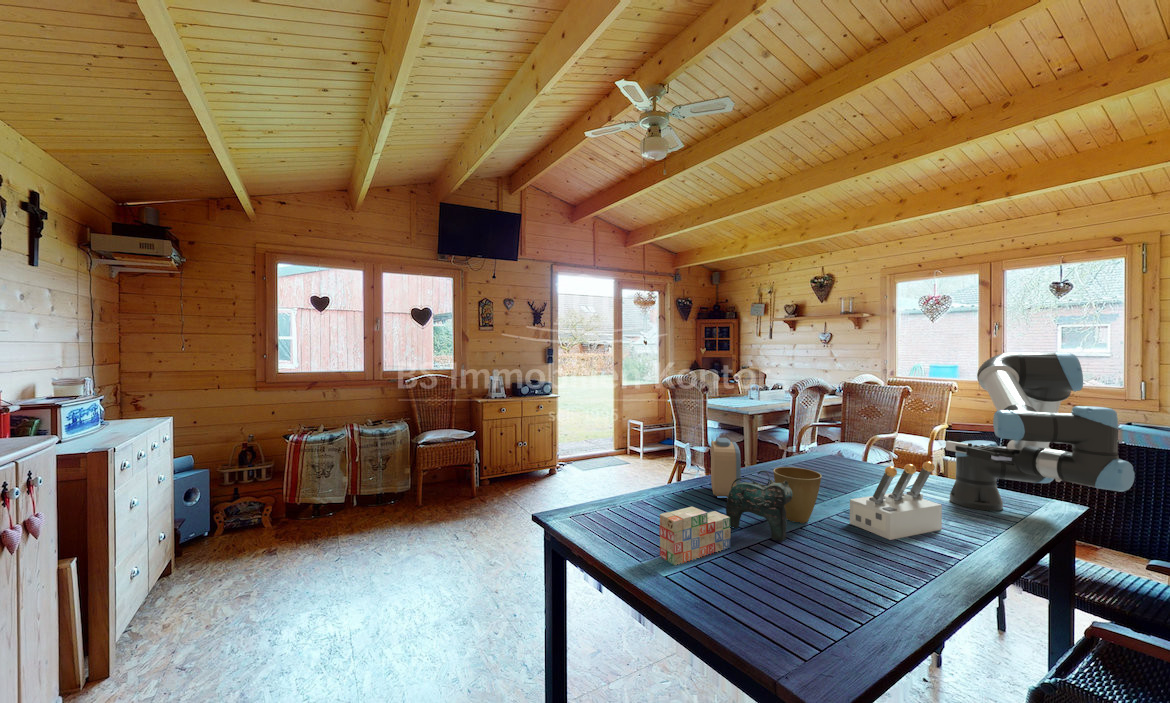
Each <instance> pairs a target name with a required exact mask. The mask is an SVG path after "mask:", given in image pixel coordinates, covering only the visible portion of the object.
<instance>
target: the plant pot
mask: <svg viewBox="0 0 1170 703" xmlns="http://www.w3.org/2000/svg"><path fill="white" fill-rule="evenodd" d="M772 473H773V478H774V480H773V481H774V483H783V482H784V481H785V480H786V481H787V482H788V485H789V487H790V488H791V490H792V499H791V501H790V502H788V503H787V504H785V505H784V507H785V510H786V520H787V519H788V520H790V521H789V522H791V521H794V522H793V523H795V522H800V523H799V524H805V522H806V523H808V521H809V519H810V518H811V515H812V513H813V511H814V509H815V508H814V507H815V505H816V502H817V498H818V496H819V495H818V494H819V492H820V487H821V481H822V476H823V475H822V474H821V473H820V472H818V471H814V470H812V469H808V468H802V467H794V466H780V467H775V468H774V469H773V472H772ZM788 520H787V521H788Z"/></svg>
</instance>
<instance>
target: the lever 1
mask: <svg viewBox="0 0 1170 703" xmlns="http://www.w3.org/2000/svg"><path fill="white" fill-rule="evenodd" d="M897 474H898V469H896V467H894V466H891V465H890V466H889V465H888V466H887V467H885V469H884V474H883V475H882V477H881V480H880V481H879V483H878V486H877V487H876V489H875V491H874V493H873V495H872V496H873V497H871V498H869V500H871V501H874V502H875V504H880V503H883V497H884V495H885V494H887V491H888V489H889V487H890V486H891V484H892V482H893V480H894V477H896V476H897Z"/></svg>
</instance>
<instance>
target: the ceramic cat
mask: <svg viewBox="0 0 1170 703" xmlns="http://www.w3.org/2000/svg"><path fill="white" fill-rule="evenodd" d="M761 473H765V474H766V475H767V476H768V481H767V483H766V484H762V483H760V482H756V481H755V480H753V479H751V478H748V477H741V478H739V479H736V480H735V481H734V482H733V484H734V483H735V482H736V481H737V480H747V481H746V482H745V481H744V482H741V483H739V484H737V485H736V486H734V487H733V484H732V486H731V490H730V492H729V495H728V498H727V499H726V505H725V512H726V513H725V515H726V516H728V517H730V526H731V527H734V528H737V529H739V528H740V522H741V518H742V514H744V513H752V514H754V515H756V516H759V517H762V518H764V519H765V520H766V522H767V524H768V525H769V528H770V533H771V535H770V536H771V540H773V539H776V540H775V541H778V540H779V541H778V542H781V541H782V542H784V541H785V540H786V539H787V525H788V524H787V523H788V522H787V519H786V510H785V507H784V505H785V504H787V503H788V502H790V501H791V499H792V490H791V488H790V487H789V485H788V482H787V481H786V480H785V481H784V482H783V483H775V481H774V480H773V479H771V478H770V474H769V472H767V471H766V470H760V471H758V473H757V475H760V474H761ZM748 480H749V481H751V482H749V481H748ZM738 527H739V528H738ZM783 540H784V541H783Z"/></svg>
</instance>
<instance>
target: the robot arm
mask: <svg viewBox="0 0 1170 703" xmlns="http://www.w3.org/2000/svg"><path fill="white" fill-rule="evenodd" d="M1083 374H1084V373H1083V368H1082V365H1081V362H1080V360H1079V358H1078V356H1077V355H1075V354H1073V353H1069V352H1058V351H1055V352H1003V353H999V354H997V355H994V356H991V357H990V358H989V359H987V360H985V361H984V362H982V364H981V366H979V368H978V371H977V374H976V378H977V379H976V380H977V381H978V384H979V386H980V387H981V388H982V389H983V390H984V391H986V392H987V393H988V395H989V397H990V399H991V401H992V403H993V406H994V407H995V410H996V411H995V412H994V414H993V418H992V419H993V421H992V423H993V425H992V426H993V432H994V435H995V436H996V437H997V438H999V439H1004V440H1010V441H1009V442H1008V443H1007V446H1000V445H998V443H997V442H996V441H993V440H975V439H974V440H965V441H964V440H963V441H961V442H957V441H952V440H946V441H945V451H950V452H955V481H954V483H953V486H952V488H951V490H950V493H949V501H951V503H954V504H956V505H958V506H961V507H965V508H969V509H975V510H980V511H991V512H992V511H993V512H994V511H1002V510H1003V509H1004V502H1003V499H1002V497H1001V494H1000V492H999V489H998V486H997V480H998V479H999V480H1008V481H1017V482H1025V483H1032V484H1050V483H1051V482H1053V481H1054V480H1055V482H1058V483H1061V481H1062V482H1067V483H1070V484H1071V483H1072V484H1077V485H1082V486H1085V487H1090V488H1091V487H1092V488H1096V489H1098V490H1100V489H1101V490H1106V491H1107V490H1108V491H1114V492H1118V493H1119V492H1121V493H1123V492H1127V491H1129V490H1130V489H1131V487H1133V484H1134V481H1135V476H1136V475H1135V471H1134V466H1133V464H1131V462H1129V461H1128V460H1123V459H1122V458H1119V454H1118V450H1119V449H1118V448H1119V447H1118V445H1119V429H1120V427H1119V420H1118V419H1119V418H1118V413H1117V412H1116V410H1115V409H1113V408H1110V407H1103V406H1093V405H1092V406H1090V405H1075V406H1073V407H1072V408H1071V411H1070V412H1069V413H1068V412H1059V409H1060V407H1061V404H1062V402H1063V401H1066V400H1068V398H1069V397H1070V396H1071V393H1072V392H1074V393H1076V392H1080V391H1082V389H1084V388H1083V387H1084V375H1083ZM1050 443H1051V444H1053V443H1054V444H1061V445H1062V444H1066V445H1071V446H1072V447H1071V451H1072V452H1071V451H1067V450H1061V449H1060V450H1058V449H1053V448H1051V447H1050Z"/></svg>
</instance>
